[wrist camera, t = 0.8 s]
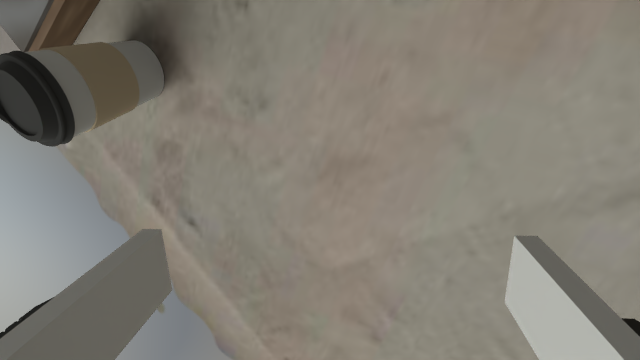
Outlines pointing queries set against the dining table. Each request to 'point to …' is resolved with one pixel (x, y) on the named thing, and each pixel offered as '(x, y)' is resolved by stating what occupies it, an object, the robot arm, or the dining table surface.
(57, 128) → the coffee cup
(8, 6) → the walnut block
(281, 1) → the dining table surface
